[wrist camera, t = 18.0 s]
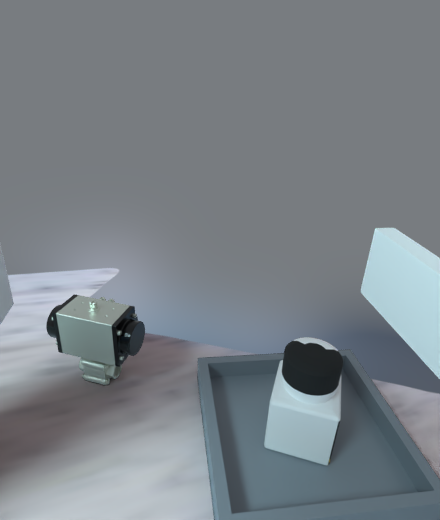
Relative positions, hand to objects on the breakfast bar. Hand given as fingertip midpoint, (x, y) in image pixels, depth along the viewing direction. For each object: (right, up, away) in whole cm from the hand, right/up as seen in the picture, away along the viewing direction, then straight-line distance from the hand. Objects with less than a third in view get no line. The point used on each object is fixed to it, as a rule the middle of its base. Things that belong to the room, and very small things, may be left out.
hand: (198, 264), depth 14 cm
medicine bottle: (+10, -20, +31) cm, 38 cm away
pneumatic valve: (-16, -16, +40) cm, 46 cm away
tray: (+10, -21, +32) cm, 39 cm away
